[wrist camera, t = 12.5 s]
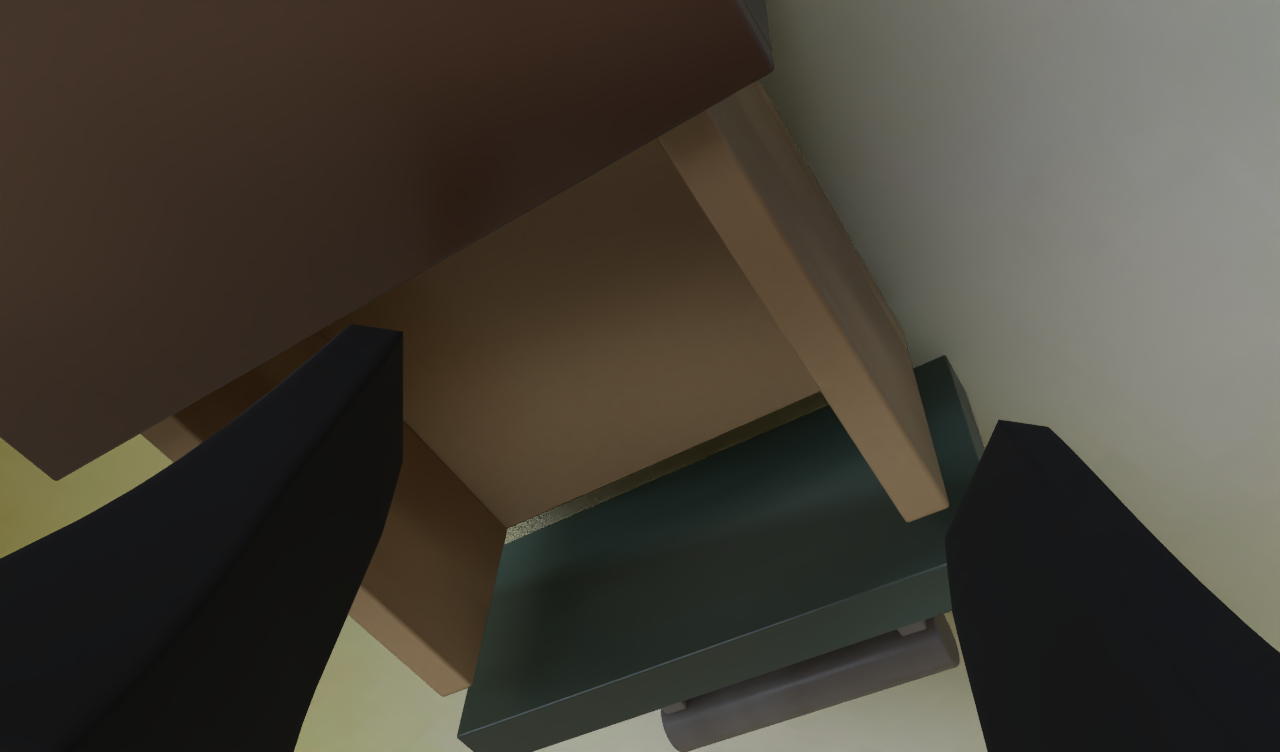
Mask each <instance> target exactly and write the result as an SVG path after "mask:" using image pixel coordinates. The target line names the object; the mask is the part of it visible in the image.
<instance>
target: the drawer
mask: <svg viewBox="0 0 1280 752" xmlns="http://www.w3.org/2000/svg"><path fill="white" fill-rule="evenodd" d="M351 324H356V325H363V326H369V327H376V328H383V329H390V330H396V331H403V463H402V466H401V470H400V474H399V477H398V481H397V485H396V488H395V492H394V496H393V499H392V503H391V506H390V509H389V513H388V516H387V520H386V523H385V526H384V530H383V533H382V536H381V538H380V540H379V543H378V545H377V548H376V550H375V552H374V555H373V557H372V559H371V562H370V564H369V567H368V569H367V571H366V574H365V576H364V578H363V581H362V583H361V585H360V588H359V590H358V592H357V595H356V597H355V599H354V602H353V604H352V606H351V609H350V611H349V613H348V615H349V616H350V617H351V618H352V619H354V620H355V621H356V622H357V623H358V624H359V625H360V626H362V627H363V628H364V629H365V630H366V631H367V632H368V633H370V634H371V635H372V636H373V637H374V638H375V639H376V640H378V641H379V642H380V643H381V644H382V645H383V646H385V647H386V648H387V649H388V650H389V651H390V652H391V653H393V654H394V655H395V656H396V657H397V658H398V659H399V660H401V661H402V662H403V663H404V664H405V665H406V666H407V667H409V668H410V669H411V670H412V671H413V672H414V673H415V674H417V675H418V676H419V677H420V678H421V679H422V680H423V681H425V682H426V683H427V684H428V685H429V686H430V687H432V688H433V689H434V690H435V691H436V692H437V693H438V694H440V695H441V696H443V697H444V696H447V695H450V694H452V693H455V692H458V691H460V690H463V689H466V688H468V691H467V695H466V699H465V704H464V708H463V712H462V717H461V721H460V725H459V730H458V734H457V738H458V739H459V740H460V741H462V742H463V743H464V744H465V745H466V746H467V747H469V748H470V749H471V750H472V751H473V752H533V751H536V750H539V749H542V748H545V747H548V746H551V745H554V744H557V743H559V742H562V741H565V740H568V739H571V738H574V737H577V736H580V735H583V734H586V733H589V732H592V731H595V730H598V729H601V728H604V727H607V726H610V725H613V724H616V723H619V722H622V721H625V720H628V719H631V718H634V717H637V716H640V715H643V714H646V713H649V712H652V711H655V710H658V709H661V717H662V723H663V727H664V730H665V732H666V735H667V737H668V739H669V741H670V742H671V744H672V745H673V746H674V748H675V749H677V750H678V751H680V752H688V751H691V750H694V749H697V748H700V747H703V746H707V745H710V744H713V743H716V742H719V741H722V740H726V739H729V738H732V737H735V736H738V735H742V734H745V733H748V732H751V731H754V730H757V729H761V728H764V727H767V726H770V725H773V724H777V723H780V722H783V721H786V720H789V719H792V718H796V717H799V716H802V715H805V714H808V713H812V712H815V711H818V710H821V709H824V708H827V707H831V706H834V705H837V704H840V703H843V702H847V701H850V700H853V699H856V698H859V697H862V696H866V695H869V694H872V693H875V692H878V691H882V690H885V689H888V688H891V687H894V686H897V685H901V684H904V683H907V682H910V681H913V680H917V679H920V678H923V677H926V676H929V675H932V674H936V673H939V672H942V671H945V670H948V669H951V668H955V667H957V666H958V665H959V663H960V658H959V652H958V648H957V644H956V641H955V638H954V636H953V633H952V631H951V628H950V626H949V624H948V622H947V620H946V618H945V616H944V613H947V612H950V611H952V605H951V597H950V589H949V581H948V571H947V560H946V549H945V536H946V534H947V532H948V530H949V528H950V525H951V523H952V521H953V519H954V517H955V514H956V512H957V510H958V508H959V506H960V504H961V501H962V499H963V497H964V495H965V493H966V490H967V488H968V486H969V484H970V482H971V479H972V477H973V475H974V473H975V471H976V468H977V466H978V464H979V462H980V460H981V457H982V455H983V453H984V451H985V448H984V445H983V442H982V439H981V436H980V433H979V430H978V427H977V424H976V421H975V418H974V415H973V412H972V408H971V405H970V402H969V399H968V396H967V393H966V391H965V389H964V387H963V386H962V384H961V382H960V380H959V378H958V377H957V375H956V373H955V371H954V369H953V368H952V366H951V364H950V362H949V360H948V359H947V357H946V356H945V355H944V356H941V357H939V358H936V359H934V360H932V361H929V362H927V363H925V364H922V365H920V366H918V367H916V368H912V364H911V360H910V357H909V353H908V348H907V345H906V341H905V337H904V334H903V331H902V329H901V327H900V325H899V324H898V322H897V320H896V318H895V317H894V315H893V313H892V311H891V310H890V308H889V306H888V304H887V303H886V301H885V299H884V297H883V296H882V294H881V292H880V290H879V289H878V287H877V285H876V283H875V282H874V280H873V278H872V276H871V275H870V273H869V271H868V269H867V268H866V266H865V264H864V262H863V261H862V259H861V257H860V255H859V254H858V252H857V250H856V248H855V247H854V245H853V243H852V241H851V240H850V238H849V236H848V234H847V233H846V231H845V229H844V227H843V226H842V224H841V222H840V220H839V219H838V217H837V215H836V213H835V212H834V210H833V208H832V206H831V205H830V203H829V201H828V200H827V198H826V196H825V194H824V193H823V191H822V189H821V187H820V186H819V184H818V182H817V180H816V179H815V177H814V175H813V173H812V172H811V170H810V168H809V166H808V165H807V163H806V161H805V159H804V158H803V156H802V154H801V152H800V151H799V149H798V147H797V145H796V144H795V142H794V140H793V138H792V137H791V135H790V133H789V131H788V130H787V128H786V126H785V124H784V123H783V121H782V119H781V117H780V116H779V114H778V112H777V110H776V109H775V107H774V105H773V103H772V102H771V100H770V98H769V96H768V95H767V93H766V91H765V89H764V88H763V86H762V84H761V82H760V81H759V80H757V81H755V82H754V83H752V84H750V85H748V86H747V87H745V88H743V89H741V90H740V91H738V92H736V93H734V94H733V95H731V96H729V97H727V98H726V99H724V100H722V101H720V102H719V103H717V104H715V105H713V106H712V107H710V108H708V109H706V110H705V111H703V112H701V113H700V114H698V115H696V116H694V117H693V118H691V119H689V120H687V121H686V122H684V123H682V124H680V125H679V126H677V127H675V128H673V129H672V130H670V131H668V132H666V133H665V134H663V135H661V136H659V137H658V138H656V139H654V140H652V141H651V142H649V143H647V144H645V145H644V146H642V147H640V148H638V149H637V150H635V151H633V152H631V153H630V154H628V155H626V156H624V157H623V158H621V159H619V160H617V161H616V162H614V163H612V164H610V165H609V166H607V167H605V168H603V169H602V170H600V171H598V172H596V173H595V174H593V175H591V176H589V177H588V178H586V179H584V180H582V181H581V182H579V183H577V184H575V185H574V186H572V187H570V188H568V189H567V190H565V191H563V192H561V193H560V194H558V195H556V196H554V197H553V198H551V199H549V200H547V201H546V202H544V203H542V204H540V205H539V206H537V207H535V208H533V209H532V210H530V211H528V212H526V213H525V214H523V215H521V216H519V217H518V218H516V219H514V220H512V221H511V222H509V223H507V224H505V225H504V226H502V227H500V228H498V229H497V230H495V231H493V232H491V233H490V234H488V235H486V236H484V237H483V238H481V239H479V240H477V241H476V242H474V243H472V244H470V245H469V246H467V247H465V248H464V249H462V250H460V251H458V252H457V253H455V254H453V255H451V256H450V257H448V258H446V259H444V260H443V261H441V262H439V263H437V264H436V265H434V266H432V267H430V268H429V269H427V270H425V271H423V272H422V273H420V274H418V275H416V276H415V277H413V278H411V279H409V280H408V281H406V282H404V283H402V284H401V285H399V286H397V287H395V288H394V289H392V290H390V291H388V292H387V293H385V294H383V295H381V296H380V297H378V298H376V299H374V300H373V301H371V302H369V303H367V304H366V305H364V306H362V307H360V308H359V309H357V310H355V311H353V312H352V313H350V314H348V315H346V316H345V317H343V318H341V319H339V320H338V321H336V322H334V323H332V324H331V325H329V326H327V327H325V328H324V329H322V330H320V331H318V332H317V333H315V334H313V335H311V336H310V337H308V338H306V339H304V340H303V341H301V342H299V343H297V344H296V345H294V346H292V347H290V348H289V349H287V350H285V351H283V352H282V353H280V354H278V355H276V356H275V357H273V358H271V359H269V360H268V361H266V362H264V363H262V364H261V365H259V366H257V367H255V368H254V369H252V370H250V371H248V372H247V373H245V374H243V375H241V376H240V377H238V378H236V379H235V380H233V381H231V382H229V383H228V384H226V385H224V386H222V387H221V388H219V389H217V390H215V391H214V392H212V393H210V394H208V395H207V396H205V397H203V398H201V399H200V400H198V401H196V402H194V403H193V404H191V405H189V406H187V407H186V408H184V409H182V410H180V411H179V412H177V413H175V414H173V415H172V416H170V417H168V418H166V419H165V420H163V421H161V422H159V423H158V424H156V425H154V426H152V427H151V428H149V429H147V430H145V431H144V432H142V433H140V434H141V435H143V436H144V437H145V438H146V439H147V440H148V441H150V442H151V443H152V444H153V445H154V446H155V447H156V448H158V449H159V450H160V451H161V452H162V453H163V454H164V455H166V456H167V457H168V458H169V459H170V460H171V461H172V462H175V461H177V460H178V459H180V458H181V457H182V456H184V455H185V454H187V453H188V452H190V451H191V450H192V449H194V448H195V447H197V446H198V445H199V444H201V443H202V442H204V441H205V440H207V439H208V438H209V437H211V436H212V435H214V434H215V433H216V432H218V431H219V430H221V429H222V428H223V427H225V426H226V425H227V424H229V423H230V422H231V421H233V420H234V419H235V418H237V417H238V416H239V415H240V414H242V413H243V412H244V411H246V410H247V409H248V408H249V407H251V406H252V405H253V404H254V403H256V402H257V401H258V400H259V399H261V398H262V397H263V396H265V395H266V394H267V393H268V392H270V391H271V390H272V389H273V388H275V387H276V386H277V385H278V384H280V383H281V382H282V381H283V380H284V379H286V378H287V377H288V376H289V375H290V374H292V373H293V372H294V371H295V370H296V369H298V368H299V367H300V366H301V365H302V364H304V363H305V362H306V361H307V360H308V359H309V358H311V357H312V356H313V355H314V354H315V353H316V352H318V351H319V350H320V349H321V348H322V347H324V346H325V345H326V344H327V343H328V342H329V341H331V340H332V339H333V338H334V337H335V336H337V335H338V334H339V333H340V332H341V331H343V330H344V329H345V328H347V327H348V326H350V325H351ZM820 391H821V393H822V394H823V396H824V397H825V399H826V400H827V402H828V403H829V405H827V406H825V407H823V408H820V409H818V410H816V411H813V412H811V413H809V414H806V415H804V416H802V417H800V418H797V419H795V420H793V421H790V422H788V423H786V424H783V425H781V426H779V427H776V428H774V429H772V430H769V431H767V432H765V433H762V434H760V435H758V436H755V437H753V438H751V439H748V440H746V441H744V442H742V443H739V444H737V445H735V446H732V447H730V448H728V449H725V450H723V451H721V452H718V453H716V454H714V455H711V456H709V457H707V458H704V459H702V460H700V461H697V462H695V463H693V464H690V465H688V466H686V467H684V468H681V469H679V470H677V471H674V472H672V473H670V474H667V475H665V476H663V477H660V478H658V479H656V480H653V481H651V482H649V483H646V484H644V485H642V486H639V487H637V488H635V489H632V490H630V491H628V492H626V493H623V494H621V495H619V496H616V497H614V498H612V499H609V500H607V501H605V502H602V503H600V504H598V505H595V506H593V507H591V508H588V509H586V510H584V511H581V512H579V513H577V514H574V515H572V516H570V517H568V518H565V519H563V520H561V521H558V522H556V523H554V524H551V525H549V526H547V527H544V528H542V529H540V530H537V531H535V532H533V533H530V534H528V535H526V536H523V537H521V538H519V539H516V540H514V541H512V542H510V543H507V544H505V545H504V542H505V537H506V533H507V528H510V527H512V526H514V525H517V524H519V523H521V522H523V521H526V520H528V519H530V518H533V517H535V516H537V515H539V514H542V513H544V512H546V511H549V510H551V509H553V508H555V507H558V506H560V505H562V504H565V503H567V502H569V501H571V500H574V499H576V498H578V497H581V496H583V495H585V494H587V493H590V492H592V491H594V490H597V489H599V488H601V487H603V486H606V485H608V484H610V483H613V482H615V481H617V480H619V479H622V478H624V477H626V476H629V475H631V474H633V473H635V472H638V471H640V470H642V469H645V468H647V467H649V466H651V465H654V464H656V463H658V462H661V461H663V460H665V459H667V458H670V457H672V456H674V455H677V454H679V453H681V452H683V451H686V450H688V449H690V448H693V447H695V446H697V445H699V444H702V443H704V442H706V441H709V440H711V439H713V438H715V437H718V436H720V435H722V434H724V433H727V432H729V431H731V430H734V429H736V428H738V427H740V426H743V425H745V424H747V423H750V422H752V421H754V420H756V419H759V418H761V417H763V416H766V415H768V414H770V413H772V412H775V411H777V410H779V409H782V408H784V407H786V406H788V405H791V404H793V403H795V402H798V401H800V400H802V399H804V398H807V397H809V396H811V395H814V394H816V393H818V392H820Z"/></svg>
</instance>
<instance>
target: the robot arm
mask: <svg viewBox="0 0 1280 752" xmlns="http://www.w3.org/2000/svg"><path fill="white" fill-rule="evenodd" d="M402 463H403V331H396V330H390V329H383V328H376V327H369V326H363V325H356V324H351V325H350V326H348V327H347V328H345V329H344V330H343V331H341V332H340V333H339V334H338V335H337V336H335V337H334V338H333V339H332V340H331V341H329V342H328V343H327V344H326V345H325V346H324V347H322V348H321V349H320V350H319V351H318V352H316V353H315V354H314V355H313V356H312V357H311V358H309V359H308V360H307V361H306V362H305V363H304V364H302V365H301V366H300V367H299V368H298V369H296V370H295V371H294V372H293V373H292V374H290V375H289V376H288V377H287V378H286V379H284V380H283V381H282V382H281V383H280V384H278V385H277V386H276V387H275V388H273V389H272V390H271V391H270V392H268V393H267V394H266V395H265V396H263V397H262V398H261V399H259V400H258V401H257V402H256V403H254V404H253V405H252V406H251V407H249V408H248V409H247V410H246V411H244V412H243V413H242V414H240V415H239V416H238V417H237V418H235V419H234V420H233V421H231V422H230V423H229V424H227V425H226V426H225V427H223V428H222V429H221V430H219V431H218V432H216V433H215V434H214V435H212V436H211V437H209V438H208V439H207V440H205V441H204V442H202V443H201V444H199V445H198V446H197V447H195V448H194V449H192V450H191V451H190V452H188V453H187V454H185V455H184V456H182V457H181V458H180V459H178V460H177V461H175V462H174V463H173V464H171V465H170V466H168V467H167V468H165V469H164V470H162V471H160V472H159V473H157V474H156V475H154V476H153V477H151V478H150V479H148V480H146V481H145V482H143V483H142V484H140V485H139V486H137V487H135V488H134V489H132V490H130V491H129V492H127V493H125V494H123V495H122V496H120V497H118V498H117V499H115V500H113V501H111V502H110V503H108V504H106V505H104V506H103V507H101V508H99V509H98V510H96V511H94V512H92V513H90V514H89V515H87V516H85V517H83V518H81V519H79V520H77V521H76V522H74V523H72V524H70V525H67V526H65V527H63V528H61V529H59V530H57V531H55V532H53V533H51V534H49V535H47V536H45V537H43V538H41V539H39V540H37V541H35V542H33V543H31V544H29V545H27V546H25V547H23V548H21V549H19V550H17V551H15V552H13V553H11V554H9V555H7V556H5V557H3V558H1V559H0V752H294V749H295V746H296V743H297V740H298V737H299V733H300V730H301V727H302V724H303V721H304V719H305V716H306V713H307V711H308V708H309V706H310V703H311V700H312V698H313V695H314V692H315V690H316V687H317V685H318V683H319V680H320V678H321V676H322V673H323V671H324V669H325V666H326V664H327V662H328V660H329V657H330V655H331V653H332V650H333V648H334V646H335V643H336V641H337V639H338V636H339V634H340V632H341V629H342V627H343V625H344V622H345V620H346V618H347V615H348V613H349V611H350V609H351V606H352V604H353V602H354V599H355V597H356V595H357V592H358V590H359V588H360V585H361V583H362V581H363V578H364V576H365V574H366V571H367V569H368V567H369V564H370V562H371V559H372V557H373V555H374V552H375V550H376V548H377V545H378V543H379V540H380V538H381V536H382V533H383V530H384V526H385V523H386V520H387V516H388V513H389V509H390V506H391V503H392V499H393V496H394V492H395V488H396V485H397V481H398V477H399V474H400V470H401V466H402ZM945 549H946V560H947V571H948V581H949V589H950V597H951V605H952V613H953V617H954V621H955V626H956V630H957V634H958V638H959V642H960V646H961V650H962V654H963V658H964V662H965V666H966V670H967V674H968V678H969V681H970V685H971V689H972V693H973V697H974V701H975V704H976V708H977V712H978V716H979V720H980V724H981V728H982V731H983V735H984V739H985V743H986V747H987V751H988V752H1280V653H1279V652H1278V651H1277V650H1276V649H1274V648H1273V647H1272V646H1271V645H1270V644H1268V643H1267V642H1266V641H1265V640H1264V639H1263V638H1262V637H1260V636H1259V635H1258V634H1257V633H1256V632H1255V631H1253V630H1252V629H1251V628H1250V627H1249V626H1248V625H1247V624H1245V623H1244V622H1243V621H1242V620H1241V619H1240V618H1239V617H1238V616H1237V615H1236V614H1235V613H1234V612H1232V611H1231V610H1230V609H1229V608H1228V607H1227V606H1226V605H1225V604H1224V603H1223V602H1222V601H1221V600H1220V599H1218V598H1217V597H1216V596H1215V595H1214V594H1213V593H1212V592H1211V591H1210V590H1209V589H1208V588H1207V587H1206V586H1204V585H1203V584H1202V583H1201V582H1200V581H1199V580H1198V579H1197V578H1196V577H1195V576H1194V575H1193V574H1192V573H1191V572H1190V571H1189V570H1188V569H1187V568H1186V567H1185V566H1184V565H1183V564H1182V563H1181V562H1180V561H1179V560H1178V559H1177V558H1176V557H1175V556H1174V555H1173V554H1172V553H1171V552H1170V551H1169V550H1168V549H1167V548H1166V547H1165V546H1164V545H1163V544H1162V543H1161V542H1160V541H1159V540H1158V539H1157V538H1156V537H1155V536H1154V535H1153V534H1152V533H1151V532H1150V531H1149V530H1148V529H1147V528H1146V527H1145V526H1144V525H1143V524H1142V523H1141V522H1140V521H1139V520H1138V519H1137V518H1136V516H1135V515H1134V514H1133V513H1132V512H1131V511H1130V510H1129V509H1128V508H1127V507H1126V506H1125V505H1124V504H1123V503H1122V502H1121V501H1120V500H1119V499H1118V498H1117V497H1116V495H1115V494H1114V493H1113V492H1112V491H1111V490H1110V489H1109V488H1108V487H1107V486H1106V485H1105V484H1104V483H1103V482H1102V481H1101V480H1100V479H1099V477H1098V476H1097V475H1096V474H1095V473H1094V472H1093V471H1092V470H1091V469H1090V468H1089V467H1088V466H1087V465H1086V464H1085V463H1084V462H1083V461H1082V460H1081V459H1080V458H1079V457H1078V455H1077V454H1076V453H1075V452H1074V451H1073V450H1072V449H1071V448H1070V447H1069V446H1068V445H1067V444H1066V443H1065V442H1064V441H1063V440H1062V439H1061V438H1060V437H1058V436H1057V435H1056V434H1055V433H1054V432H1053V431H1052V430H1051V429H1050V428H1049V427H1045V426H1038V425H1032V424H1025V423H1018V422H1011V421H1005V420H998V422H997V424H996V427H995V429H994V431H993V433H992V435H991V438H990V440H989V442H988V444H987V446H986V449H985V451H984V453H983V455H982V457H981V460H980V462H979V464H978V466H977V468H976V471H975V473H974V475H973V477H972V479H971V482H970V484H969V486H968V488H967V490H966V493H965V495H964V497H963V499H962V501H961V504H960V506H959V508H958V510H957V512H956V514H955V517H954V519H953V521H952V523H951V525H950V528H949V530H948V532H947V534H946V536H945Z"/></svg>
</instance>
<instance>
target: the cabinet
mask: <svg viewBox="0 0 1280 752" xmlns="http://www.w3.org/2000/svg"><path fill="white" fill-rule="evenodd" d="M773 70H774V65H773V58H772V48H771V41H770V34H769V27H768V19H767V12H766V5H765V0H0V437H1V438H2V439H3V440H4V441H6V442H7V443H8V444H9V445H11V446H12V447H13V448H14V449H16V450H17V451H18V452H19V453H21V454H22V455H23V456H24V457H26V458H27V459H28V460H29V461H31V462H32V463H33V464H34V465H36V466H37V467H38V468H39V469H41V470H42V471H43V472H44V473H46V474H47V475H48V476H49V477H51V478H52V479H53V480H55V481H58V480H60V479H61V478H63V477H65V476H67V475H68V474H70V473H72V472H74V471H75V470H77V469H79V468H81V467H82V466H84V465H86V464H88V463H89V462H91V461H93V460H95V459H96V458H98V457H100V456H102V455H103V454H105V453H107V452H109V451H110V450H112V449H114V448H116V447H117V446H119V445H121V444H123V443H124V442H126V441H128V440H130V439H131V438H133V437H135V436H137V435H138V434H140V433H142V432H144V431H145V430H147V429H149V428H151V427H152V426H154V425H156V424H158V423H159V422H161V421H163V420H165V419H166V418H168V417H170V416H172V415H173V414H175V413H177V412H179V411H180V410H182V409H184V408H186V407H187V406H189V405H191V404H193V403H194V402H196V401H198V400H200V399H201V398H203V397H205V396H207V395H208V394H210V393H212V392H214V391H215V390H217V389H219V388H221V387H222V386H224V385H226V384H228V383H229V382H231V381H233V380H235V379H236V378H238V377H240V376H241V375H243V374H245V373H247V372H248V371H250V370H252V369H254V368H255V367H257V366H259V365H261V364H262V363H264V362H266V361H268V360H269V359H271V358H273V357H275V356H276V355H278V354H280V353H282V352H283V351H285V350H287V349H289V348H290V347H292V346H294V345H296V344H297V343H299V342H301V341H303V340H304V339H306V338H308V337H310V336H311V335H313V334H315V333H317V332H318V331H320V330H322V329H324V328H325V327H327V326H329V325H331V324H332V323H334V322H336V321H338V320H339V319H341V318H343V317H345V316H346V315H348V314H350V313H352V312H353V311H355V310H357V309H359V308H360V307H362V306H364V305H366V304H367V303H369V302H371V301H373V300H374V299H376V298H378V297H380V296H381V295H383V294H385V293H387V292H388V291H390V290H392V289H394V288H395V287H397V286H399V285H401V284H402V283H404V282H406V281H408V280H409V279H411V278H413V277H415V276H416V275H418V274H420V273H422V272H423V271H425V270H427V269H429V268H430V267H432V266H434V265H436V264H437V263H439V262H441V261H443V260H444V259H446V258H448V257H450V256H451V255H453V254H455V253H457V252H458V251H460V250H462V249H464V248H465V247H467V246H469V245H470V244H472V243H474V242H476V241H477V240H479V239H481V238H483V237H484V236H486V235H488V234H490V233H491V232H493V231H495V230H497V229H498V228H500V227H502V226H504V225H505V224H507V223H509V222H511V221H512V220H514V219H516V218H518V217H519V216H521V215H523V214H525V213H526V212H528V211H530V210H532V209H533V208H535V207H537V206H539V205H540V204H542V203H544V202H546V201H547V200H549V199H551V198H553V197H554V196H556V195H558V194H560V193H561V192H563V191H565V190H567V189H568V188H570V187H572V186H574V185H575V184H577V183H579V182H581V181H582V180H584V179H586V178H588V177H589V176H591V175H593V174H595V173H596V172H598V171H600V170H602V169H603V168H605V167H607V166H609V165H610V164H612V163H614V162H616V161H617V160H619V159H621V158H623V157H624V156H626V155H628V154H630V153H631V152H633V151H635V150H637V149H638V148H640V147H642V146H644V145H645V144H647V143H649V142H651V141H652V140H654V139H656V138H658V137H659V136H661V135H663V134H665V133H666V132H668V131H670V130H672V129H673V128H675V127H677V126H679V125H680V124H682V123H684V122H686V121H687V120H689V119H691V118H693V117H694V116H696V115H698V114H700V113H701V112H703V111H705V110H706V109H708V108H710V107H712V106H713V105H715V104H717V103H719V102H720V101H722V100H724V99H726V98H727V97H729V96H731V95H733V94H734V93H736V92H738V91H740V90H741V89H743V88H745V87H747V86H748V85H750V84H752V83H754V82H755V81H757V80H759V79H761V78H762V77H764V76H766V75H768V74H769V73H771V72H772V71H773Z"/></svg>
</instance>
